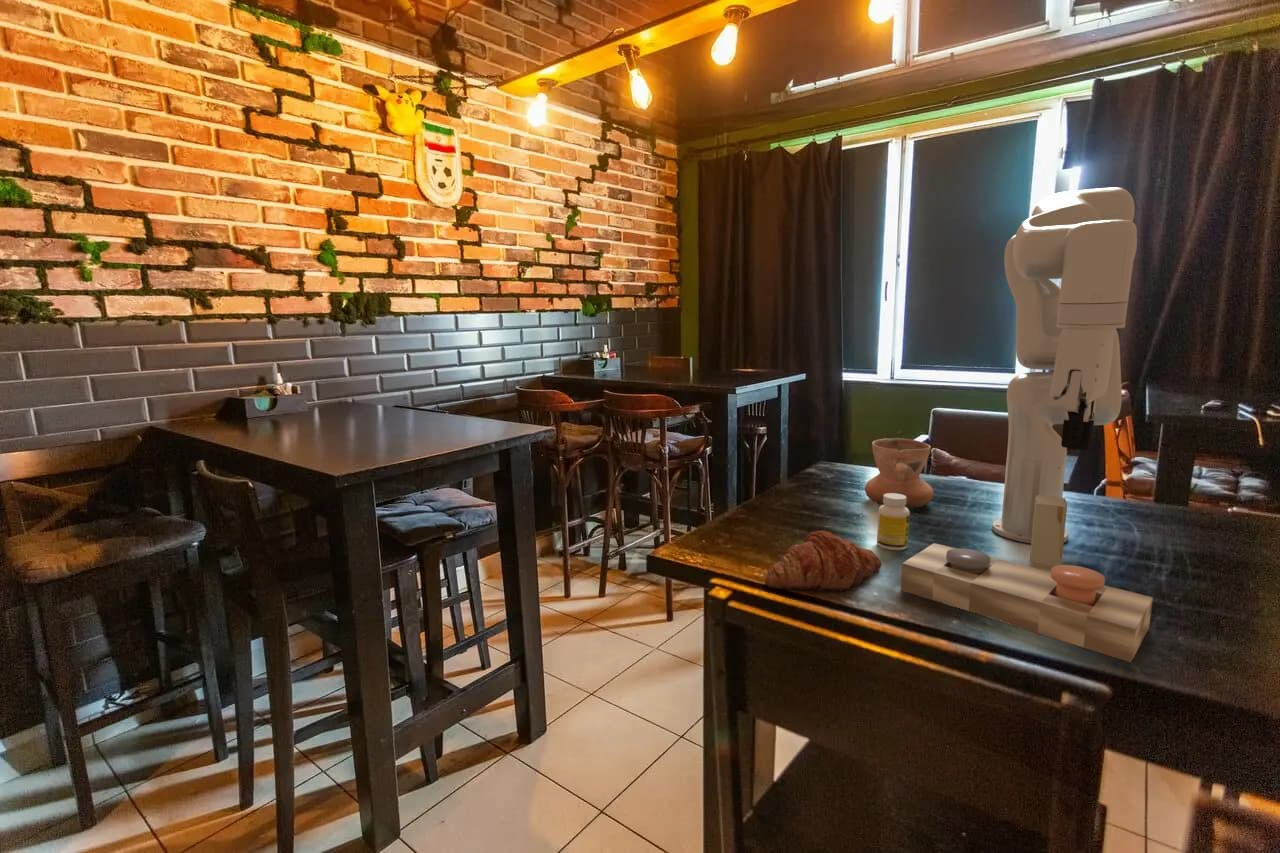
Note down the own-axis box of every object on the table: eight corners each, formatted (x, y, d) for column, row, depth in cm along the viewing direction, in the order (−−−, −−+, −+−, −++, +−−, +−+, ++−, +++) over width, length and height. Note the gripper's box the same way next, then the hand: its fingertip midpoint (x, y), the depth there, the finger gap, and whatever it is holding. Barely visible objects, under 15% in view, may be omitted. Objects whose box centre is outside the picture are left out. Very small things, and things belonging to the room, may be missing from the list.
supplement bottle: (910, 552, 112) (913, 500, 110) (879, 550, 113) (881, 499, 111) (904, 541, 117) (906, 492, 115) (874, 540, 118) (876, 491, 116)
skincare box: (1060, 579, 99) (1068, 507, 97) (1029, 574, 101) (1035, 503, 99) (1058, 565, 104) (1066, 497, 102) (1029, 560, 107) (1035, 493, 105)
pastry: (859, 610, 91) (861, 560, 90) (762, 588, 99) (762, 541, 98) (882, 569, 105) (884, 525, 104) (795, 553, 113) (796, 512, 112)
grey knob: (953, 577, 99) (955, 545, 98) (993, 588, 95) (996, 555, 94) (937, 589, 95) (940, 555, 94) (979, 601, 91) (982, 566, 90)
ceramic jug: (936, 518, 129) (940, 453, 127) (863, 512, 135) (866, 449, 132) (929, 494, 146) (933, 436, 143) (865, 490, 151) (867, 433, 149)
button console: (932, 567, 105) (934, 543, 104) (1148, 628, 84) (1152, 597, 83) (900, 589, 97) (902, 563, 96) (1130, 662, 76) (1135, 629, 75)
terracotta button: (1054, 596, 89) (1058, 561, 88) (1105, 610, 85) (1109, 573, 84) (1042, 610, 85) (1045, 573, 84) (1094, 626, 81) (1099, 587, 80)
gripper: (1072, 313, 90) (1059, 433, 94) (1042, 320, 80) (1029, 454, 84) (1137, 313, 85) (1120, 441, 89) (1112, 320, 75) (1095, 463, 79)
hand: (1075, 447), depth 87 cm, fingers closed
